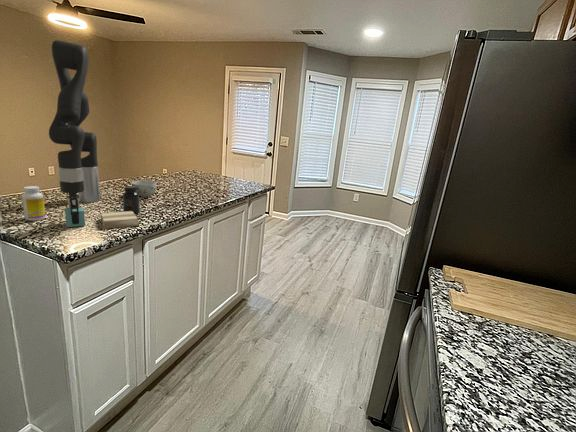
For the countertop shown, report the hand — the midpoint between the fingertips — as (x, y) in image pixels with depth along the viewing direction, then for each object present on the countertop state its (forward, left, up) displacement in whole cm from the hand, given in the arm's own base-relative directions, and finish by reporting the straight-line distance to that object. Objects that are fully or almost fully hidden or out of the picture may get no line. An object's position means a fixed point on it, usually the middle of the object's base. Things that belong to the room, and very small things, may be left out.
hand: (75, 221), depth 122 cm
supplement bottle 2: (-12, +22, -2) cm, 25 cm away
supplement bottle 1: (-12, -13, -2) cm, 18 cm away
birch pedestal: (+2, +15, -1) cm, 15 cm away
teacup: (-41, +34, -2) cm, 53 cm away
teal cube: (0, 0, -1) cm, 1 cm away
